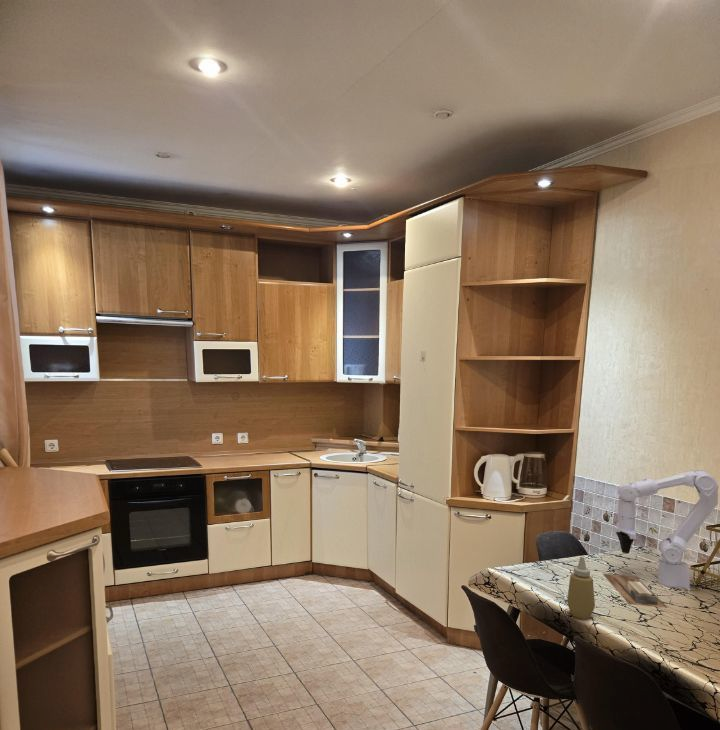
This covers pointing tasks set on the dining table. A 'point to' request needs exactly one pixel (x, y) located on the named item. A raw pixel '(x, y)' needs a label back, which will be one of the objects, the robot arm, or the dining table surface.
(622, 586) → the board
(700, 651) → the dining table surface
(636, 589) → the cream rectangular block
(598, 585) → the dining table surface
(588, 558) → the dining table surface
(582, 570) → the squeeze bottle
